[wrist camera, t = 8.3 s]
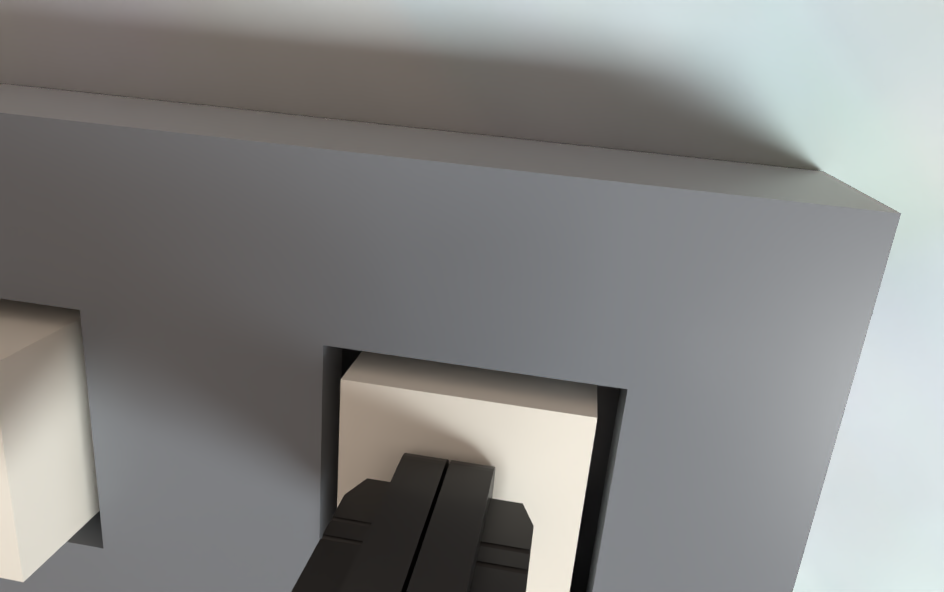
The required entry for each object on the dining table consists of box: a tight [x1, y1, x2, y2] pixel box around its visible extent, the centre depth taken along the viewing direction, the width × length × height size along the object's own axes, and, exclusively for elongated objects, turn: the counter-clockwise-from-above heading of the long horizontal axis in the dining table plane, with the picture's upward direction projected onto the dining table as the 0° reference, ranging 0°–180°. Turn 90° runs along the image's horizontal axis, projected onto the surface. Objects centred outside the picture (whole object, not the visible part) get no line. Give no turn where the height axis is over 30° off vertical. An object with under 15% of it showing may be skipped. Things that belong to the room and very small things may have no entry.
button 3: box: [337, 351, 597, 592], centre depth 13 cm, size 4×4×3 cm
